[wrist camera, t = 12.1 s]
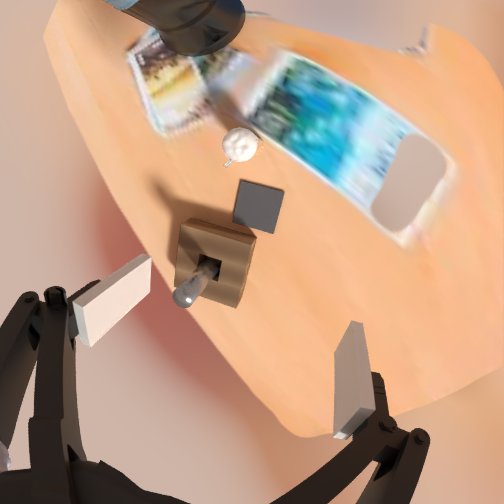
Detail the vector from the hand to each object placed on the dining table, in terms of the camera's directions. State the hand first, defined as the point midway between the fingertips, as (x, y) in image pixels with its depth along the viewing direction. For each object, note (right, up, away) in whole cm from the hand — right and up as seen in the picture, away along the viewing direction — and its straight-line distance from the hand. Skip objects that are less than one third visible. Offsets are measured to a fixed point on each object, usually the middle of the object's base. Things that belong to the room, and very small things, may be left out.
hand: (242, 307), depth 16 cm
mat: (+1, +11, +27) cm, 29 cm away
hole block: (-6, +2, +32) cm, 33 cm away
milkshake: (+1, +19, +24) cm, 31 cm away
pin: (-6, +2, +32) cm, 33 cm away
